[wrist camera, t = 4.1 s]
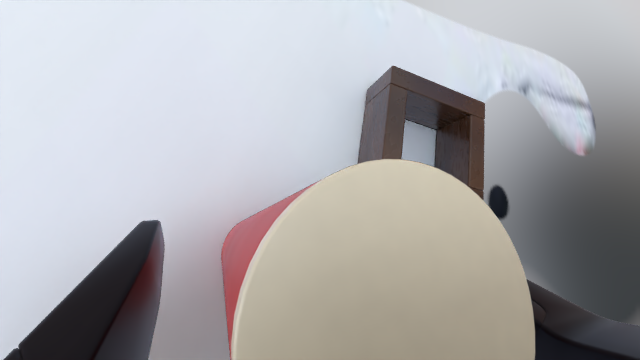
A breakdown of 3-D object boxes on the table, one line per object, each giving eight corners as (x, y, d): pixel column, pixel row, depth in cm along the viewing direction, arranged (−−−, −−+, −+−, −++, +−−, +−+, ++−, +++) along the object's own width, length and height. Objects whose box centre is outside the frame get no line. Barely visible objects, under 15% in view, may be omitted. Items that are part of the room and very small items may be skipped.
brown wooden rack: (436, 413, 16) (481, 450, 14) (324, 417, 14) (349, 461, 11) (450, 120, 21) (485, 102, 18) (367, 89, 19) (392, 64, 16)
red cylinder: (306, 264, 15) (576, 359, 4) (243, 306, 14) (368, 676, 2) (273, 203, 15) (444, 113, 4) (207, 239, 14) (148, 275, 2)
